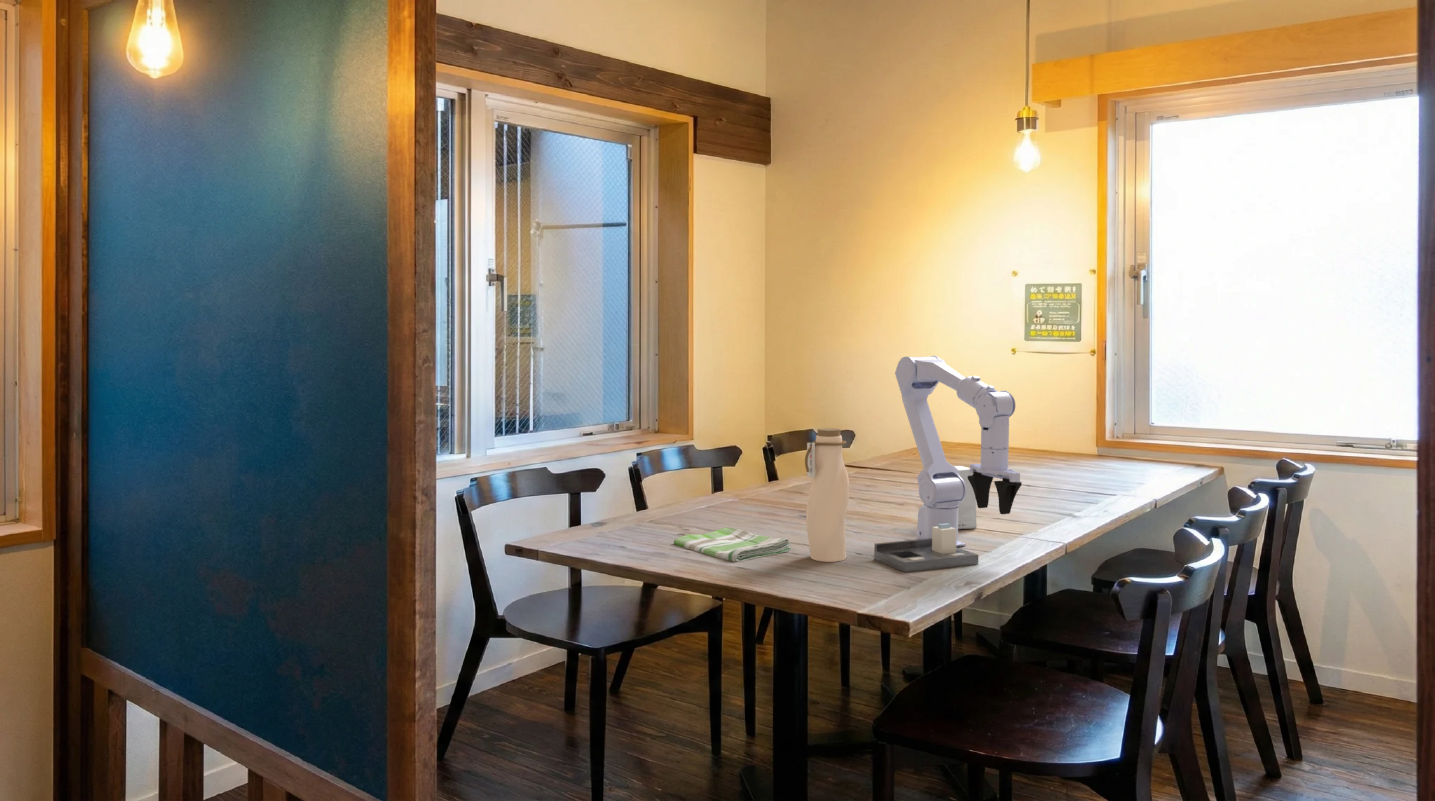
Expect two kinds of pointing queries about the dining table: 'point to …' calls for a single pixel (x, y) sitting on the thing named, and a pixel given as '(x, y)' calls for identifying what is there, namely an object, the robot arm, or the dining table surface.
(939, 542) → the plug
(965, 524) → the skincare box
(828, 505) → the water bottle
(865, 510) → the dining table surface
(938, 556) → the port panel
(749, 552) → the dish towel
